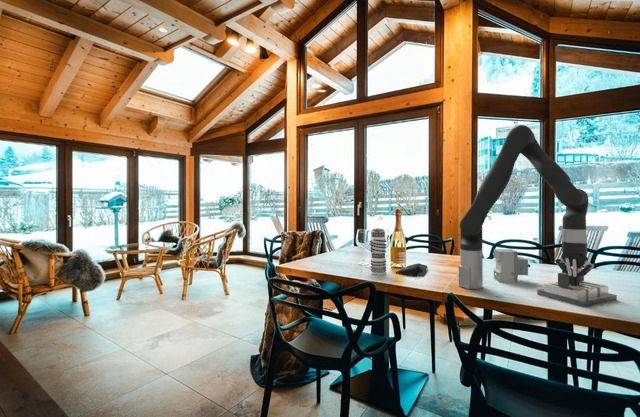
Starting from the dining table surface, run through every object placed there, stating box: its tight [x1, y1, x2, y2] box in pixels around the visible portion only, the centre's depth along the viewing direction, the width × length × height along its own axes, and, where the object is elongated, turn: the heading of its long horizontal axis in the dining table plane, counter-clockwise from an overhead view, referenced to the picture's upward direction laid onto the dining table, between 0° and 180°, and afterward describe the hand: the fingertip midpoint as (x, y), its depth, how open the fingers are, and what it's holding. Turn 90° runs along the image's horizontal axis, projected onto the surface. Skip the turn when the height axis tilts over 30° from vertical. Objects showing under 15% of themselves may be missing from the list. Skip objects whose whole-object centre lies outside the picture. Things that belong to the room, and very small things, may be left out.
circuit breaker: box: [493, 248, 531, 284], centre depth 153 cm, size 8×14×15 cm, turn 78°
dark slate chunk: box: [395, 263, 428, 278], centre depth 177 cm, size 15×22×5 cm
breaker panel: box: [536, 270, 618, 308], centre depth 126 cm, size 20×17×10 cm
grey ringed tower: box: [369, 227, 387, 276], centre depth 175 cm, size 9×9×25 cm
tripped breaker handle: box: [557, 272, 569, 287], centre depth 124 cm, size 3×2×5 cm
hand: (574, 285), depth 120 cm, fingers closed
